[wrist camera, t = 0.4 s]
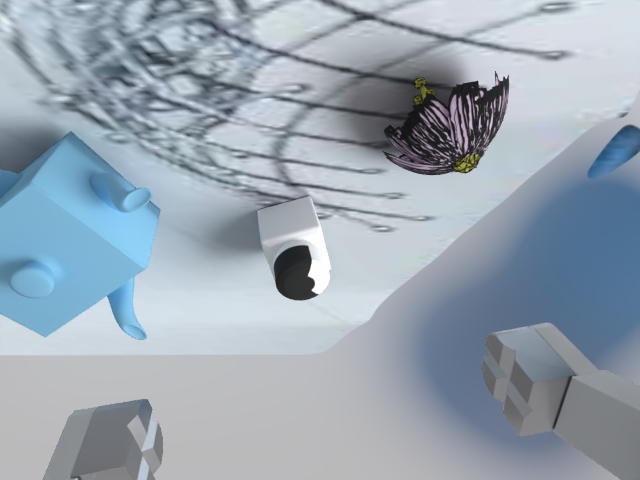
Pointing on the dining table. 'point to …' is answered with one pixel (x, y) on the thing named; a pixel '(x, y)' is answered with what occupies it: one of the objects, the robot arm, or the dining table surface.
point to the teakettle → (72, 239)
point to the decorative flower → (449, 128)
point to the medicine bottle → (295, 248)
